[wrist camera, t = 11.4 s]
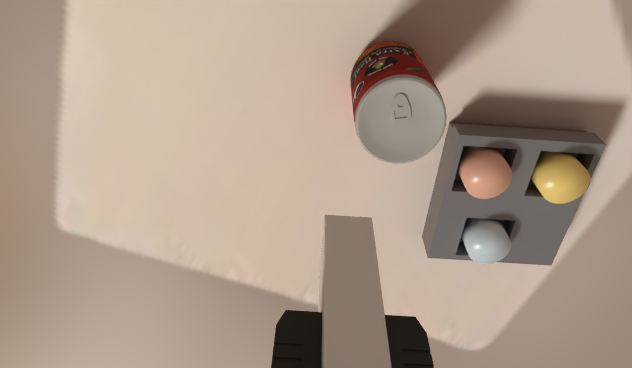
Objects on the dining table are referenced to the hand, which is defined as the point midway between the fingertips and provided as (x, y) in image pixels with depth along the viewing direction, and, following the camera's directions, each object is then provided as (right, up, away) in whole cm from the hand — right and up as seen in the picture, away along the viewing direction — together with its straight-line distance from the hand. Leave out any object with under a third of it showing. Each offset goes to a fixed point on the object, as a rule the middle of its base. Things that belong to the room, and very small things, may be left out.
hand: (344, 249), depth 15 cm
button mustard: (+25, +4, +35) cm, 43 cm away
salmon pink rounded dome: (+17, +5, +35) cm, 39 cm away
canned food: (+6, +13, +32) cm, 36 cm away
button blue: (+19, -3, +40) cm, 44 cm away
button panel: (+21, +2, +39) cm, 44 cm away
